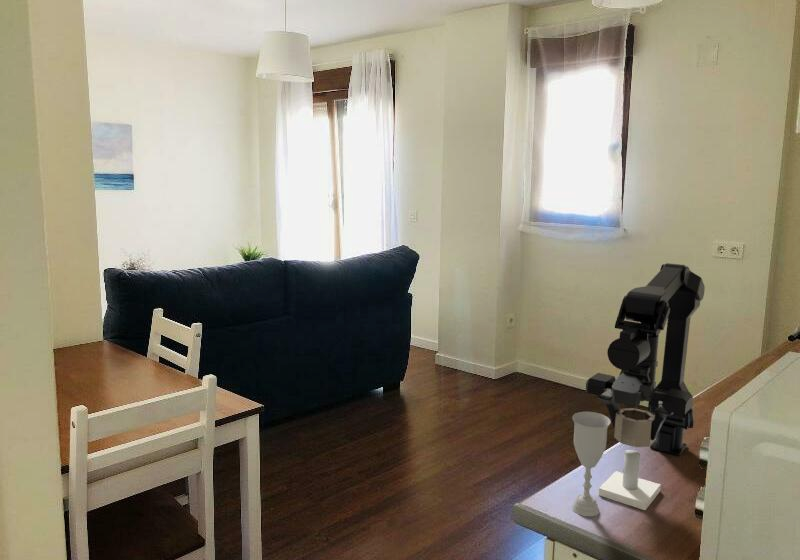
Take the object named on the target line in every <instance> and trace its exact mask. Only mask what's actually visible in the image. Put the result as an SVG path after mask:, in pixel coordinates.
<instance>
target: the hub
mask: <svg viewBox="0 0 800 560" xmlns="http://www.w3.org/2000/svg"><path fill="white" fill-rule="evenodd" d="M654 418H655V416H654V415H653V414H651V413H650V412H648V410H643V409H639V408H636V407H632V408H631V407H630V408H620V410H619V411H618V412H616V418H615V430H613V431H614V433H613V438H614V439H616V440H617V442H619V443H620V444H623V445H625V446H630V447H634V448H645V447H646V448H647V447H649V448H650V446H651V445H652V443H653V442H654V441H655V439H654V440H652V428H653V423H654Z"/></svg>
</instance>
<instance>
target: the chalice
mask: <svg viewBox="0 0 800 560" xmlns="http://www.w3.org/2000/svg"><path fill="white" fill-rule="evenodd" d="M571 419H572V421H573V423H574V426H573V427H574V430H573V447H574V449H575V453H576V455H577V457H578V460H579V462H580V464H581V466H583V467H584V468H585V472H584V474H583V478H584V482H583V483H582V487H583V490H584V491H583V493H582V494H579V495H577V497H576V499H575V500H574V501H573V504H572V506H571V509H572V508H573V509H572V511H573V510H574V511H575V512H574V511H573V512H574V513H576V514H577V513H578V514H577V515H579V514H580V516H582V517H583V516H584V517H596V516H598V515H599V514H600V509H599V505H598V504H597V500H596V498H595V497H594V496H592V494H590V489H591V488H592V487H593V485H592V484H591V479H592V478H593V475H592V472H591V470H592V468H596V466H597V465H598V463H599V462H600V460H601V459H602V457H603V455H604V452H605V451H606V449H607V438H608V428H609V427H610V424H612V421H611V418H609V417H608V416H606V415H605V414H602V413H598V412H594V411H580V412H579V411H578V412H575V413H574V414H573V415H572V417H571Z"/></svg>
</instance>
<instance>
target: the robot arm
mask: <svg viewBox="0 0 800 560" xmlns="http://www.w3.org/2000/svg"><path fill="white" fill-rule="evenodd" d="M704 295H705V284H704V281H703V278H702V277H701V276H699V275H698V274H696V273H694V272H693V271H692V270H691V269H690V267H689V266H687V265H685V264H681V263H680V264H678V263H669V262H667V263H663V264H661V267H660V269H659V272H657V274H656V275H655V276H654V277H653V278H652V279H651V280H650V281H649V282H648V283H647V284H646V285H644V286H640V287H634V288H633V289H631V290H630V291H628V292H627V293H626V295H624V297H623V298H622V301H621V304H620V308H619V311H618V313H617V316H616V320H615V324H614V329H618V330H621V331H620V332H619V337H618V338H616V339H614V340H613V341H611V343H610V344H609V346H608V348H607V357H608V360H609V362H610V364H611V365H612V366H614V367H615V368H616V369H619V370H620V373H619V375H618V376H617V378H616V376H614V375H611V374H606V373H601V372H597V373H595V374H594V375H592V376H591V377H589V378H587V380H586V383H585V392H586V393H588V394H592V395H595V396H596V397H597V399H598V400H601V401H602V402H603V403H604V404H605V406H606V409H607V411H608V413H609V417H610V421H611V424H612V427H613V431H615V418H616V412H618V411H619V410H620V409H621V404H622V405H627V406H629V407H630V408H631V407H632V408H636V407H639V406H640V404H641V402H648V403H647V406H648V410H647V411H648V412H650V413H651V414H653V415H654V416H655V418H654V423H653V428H652V440H654V442H653V443H652V445H651V446H650V447H649V448H650V449H653V450H657V451H658V452H662V453H663V452H664V453H667V454H671V455H675V456H678V457H679V456H681V455H682V453H683V452H684V451H685V449H686V448H687V447H688V444H687V443H685V442H684V433H685V432H684V431H685V430H687V431H688V430H689V429H693V428H694V426H695V413H694V408H693V403H694V396H693V394H692V393H691V392H690V391H689V389H688V387H687V385H686V383H685V381H684V380H685V372H686V371H685V370H686V363H687V362H686V360H687V351H688V344H689V343H688V342H689V334H690V325H691V317H692V316H693V315H694V314H695V312H697V310H698V309H699V308H700V306H701V301H703V299H704ZM665 327H666V333H665V342H664V349H663V350H664V351H663V352H664V353H663V359H662V361H663V362H662V372H661V380H660V381H659V382H658V384H657V381H656V373H657V367H658V365H659V364H658V363H659V362H658V352H659V351H658V349H659V338H660V337H659V336H660V333H661V331H664V330H665Z"/></svg>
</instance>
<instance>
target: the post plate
mask: <svg viewBox="0 0 800 560" xmlns="http://www.w3.org/2000/svg"><path fill="white" fill-rule="evenodd" d="M640 460H641V453H640V452H639V451H637V450H633V449H627V450H625V451H624V461H623V472H620V471H618V470H615V471H614V472H613V473H612V474H611V475H610V476H609V477H608V478H607V479H606V480H605V481H604V482H603V484H601V486H600V487H599V488H598V496H600V497H604V498H607V499H610V500H613V501H615V502H617V503H618V502H619V503H622V504H625V505H628V506H631V507H633V508H636V509H640V510H641V511H642V510H643V511H646V510H647V509H648V508H649V507H650V505H651V503H653V501H654V500H655V498H656V497H657V496H658V494H659V493H660V492H661V486H662V485H661V484H660V483H657V482H653V481H650V480H648V479H643V478H640V476H639V475H640V473H639V472H640V465H641V464H640V462H641V461H640Z"/></svg>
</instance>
